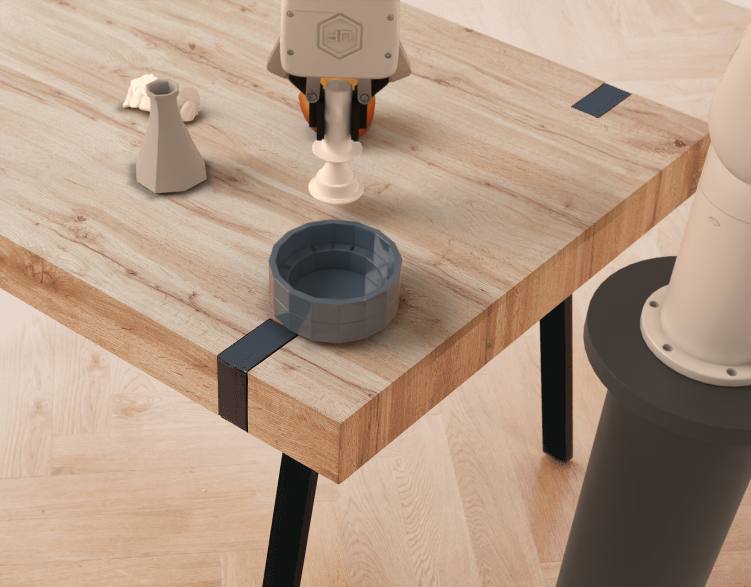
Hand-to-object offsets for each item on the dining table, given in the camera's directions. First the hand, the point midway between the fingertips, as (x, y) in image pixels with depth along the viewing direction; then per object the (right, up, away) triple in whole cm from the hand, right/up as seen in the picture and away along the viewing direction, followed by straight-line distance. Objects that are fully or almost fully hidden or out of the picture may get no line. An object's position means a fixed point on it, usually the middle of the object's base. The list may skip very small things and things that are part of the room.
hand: (337, 131), depth 99 cm
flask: (-17, -3, +9) cm, 20 cm away
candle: (0, -5, +5) cm, 7 cm away
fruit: (-1, +2, +16) cm, 17 cm away
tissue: (-20, +5, +18) cm, 27 cm away
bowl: (0, -16, -5) cm, 16 cm away
